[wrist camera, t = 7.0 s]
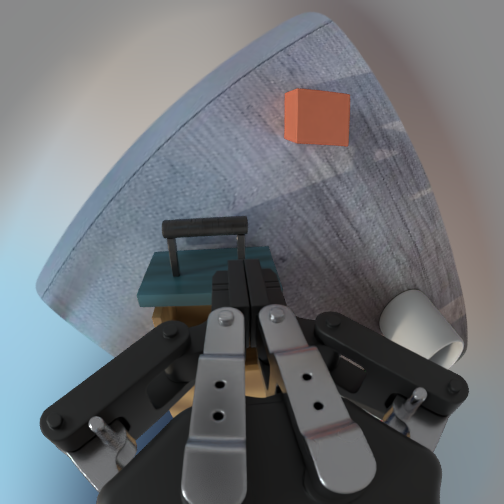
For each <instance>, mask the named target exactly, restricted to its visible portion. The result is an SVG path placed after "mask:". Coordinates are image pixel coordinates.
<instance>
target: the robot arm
mask: <svg viewBox="0 0 504 504" xmlns="http://www.w3.org/2000/svg"><path fill="white" fill-rule="evenodd" d="M249 337H250V345H251V348H252V347H257V363H258V367H259V371H260V374H261V378H262V382H263V386H264V390H265V394H266V397H265V398H259V397H251V396H245V359H246V348H249ZM341 355H343V356H345V357H347V358H348V359H350V360H352V361H353V362H355V363H357V364H359V365H360V366H362V367H363V368H364V369H365V371H366V372H365V371H364V370H362V369H360V368H358V367H357V366H355V365H353V364H351V363H350V362H348V361H346V360H345V359H343V358H341ZM194 385H195V389H194V397H193V404H192V406H191V407H189V408H187V409H185V410H183V411H182V412H180V413H179V414H178V415H176V416H175V417H174V418H173V419H172V420H171V421H170V422H169V423H168V424H167V425H166V426H165V427H164V428H163V429H162V430H161V431H160V432H159V433H158V434H157V435H156V436H155V437H154V438H153V439H152V440H151V441H150V442H149V443H148V444H147V445H146V446H145V447H144V448H143V449H142V450H141V451H140V452H139V453H138V454H137V455H136V456H135V454H136V451H137V444H136V441H135V440H137V439H138V438H139V437H140V436H141V435H142V434H143V433H144V432H145V431H147V430H148V429H149V428H150V427H151V426H152V425H153V424H154V423H155V422H156V421H158V420H159V419H160V418H161V417H162V416H163V415H164V414H165V413H166V412H167V411H168V410H169V409H170V408H172V407H173V406H174V405H175V404H176V403H177V402H178V401H179V400H180V399H181V398H182V397H183V396H184V395H185V394H186V393H187V392H188V391H189V390H190V389H191V388H192V387H193V386H194ZM468 393H469V388H468V385H467V383H466V381H465V380H464V379H463V378H462V377H461V376H460V375H458V374H456V373H454V372H452V371H450V370H448V369H446V368H444V367H442V366H440V365H438V364H436V363H434V362H432V361H430V360H428V359H426V358H424V357H422V356H421V355H419V354H417V353H415V352H413V351H411V350H409V349H407V348H405V347H403V346H401V345H399V344H397V343H395V342H393V341H392V340H390V339H388V338H386V337H384V336H382V335H380V334H378V333H376V332H374V331H372V330H370V329H369V328H367V327H365V326H363V325H361V324H359V323H357V322H355V321H353V320H351V319H350V318H348V317H346V316H344V315H342V314H340V313H337V312H324V313H321V314H320V315H318V316H317V318H316V320H309V319H303V318H299V317H297V316H295V314H294V312H293V311H292V310H291V309H290V308H288V307H287V305H286V302H285V299H284V296H283V293H282V289H281V287H280V283H279V280H278V277H277V274H276V273H275V272H274V271H273V270H272V269H271V268H265V269H261V265H260V261H259V259H244V261H243V259H238V260H228V270H221V271H216V273H215V274H214V275H213V277H212V302H211V313H210V314H209V316H208V319H207V320H206V321H205V322H204V323H202V324H200V325H197V326H193V327H190V328H188V326H187V325H186V324H185V323H183V322H181V321H176V320H171V321H166V322H163V323H161V324H159V325H158V326H157V327H155V328H154V329H153V330H151V331H150V332H149V333H147V334H146V335H145V336H143V337H142V338H141V339H139V340H138V341H137V342H135V343H134V344H133V345H131V346H130V347H129V348H127V349H126V350H125V351H123V352H122V353H121V354H119V355H118V356H117V357H115V358H114V359H113V360H111V361H110V362H109V363H107V364H106V365H105V366H103V367H102V368H101V369H99V370H98V371H97V372H95V373H94V374H93V375H91V376H90V377H89V378H87V379H86V380H85V381H83V382H82V383H81V384H79V385H78V386H77V387H75V388H74V389H73V390H71V391H70V392H69V393H67V394H66V395H65V396H63V397H62V398H60V399H59V400H58V401H56V402H55V403H54V404H53V405H51V406H50V407H48V408H47V409H46V410H45V411H44V412H43V414H42V416H41V418H40V429H41V431H42V433H43V435H44V436H45V437H46V438H48V439H49V440H50V441H51V442H52V443H53V444H55V445H56V447H57V448H58V449H60V450H61V451H62V452H63V453H65V454H66V455H67V456H68V457H69V458H70V459H71V460H72V461H73V463H74V464H75V465H76V467H77V468H78V469H79V470H80V472H81V473H82V474H83V475H84V476H85V478H86V479H87V480H88V481H89V482H90V483H91V484H92V486H93V487H94V488H95V489H96V490H97V491H98V492H99V495H98V497H97V502H96V504H440V487H441V479H442V469H441V465H440V462H439V460H438V459H437V457H436V455H435V454H434V453H433V452H434V450H435V448H436V446H437V444H438V442H439V439H440V437H441V435H442V433H443V430H444V428H445V425H446V423H447V420H448V418H449V417H450V416H451V414H453V412H454V411H455V410H456V409H457V408H458V407H459V406H460V405H461V404H462V403H463V402H464V400H465V399H466V398H467V396H468ZM340 395H341V396H342V397H341V396H340ZM363 409H364V410H363ZM366 411H367V412H366ZM368 412H369V413H368ZM370 413H371V414H372V415H371V414H370ZM373 415H374V416H376V417H377V418H376V417H374V416H373ZM378 418H379V419H381V420H383V422H382V421H381V420H379V419H378ZM134 456H135V457H134ZM133 457H134V458H133Z"/></svg>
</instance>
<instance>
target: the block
mask: <svg viewBox="0 0 504 504" xmlns="http://www.w3.org/2000/svg"><path fill="white" fill-rule="evenodd" d="M349 121H350V95H349V94H343V93H336V92H329V91H320V90H310V89H295V90H292V91H289V92H287V93H285V133H284V138H285V139H286V140H289V141H292V142H295V143H299V144H320V145H336V146H348V143H349Z"/></svg>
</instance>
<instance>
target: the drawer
mask: <svg viewBox="0 0 504 504" xmlns="http://www.w3.org/2000/svg"><path fill="white" fill-rule="evenodd" d="M247 233H248V222H247V216H231V217H211V218H193V219H177V220H164V221H163V222H162V234H163V237H164V238H167V244H168V250H169V251H165V252H154V255H153V257H152V259H151V262H150V264H149V266H148V269H147V271H146V273H145V276H144V278H143V281H142V283H141V286H140V288H139V291H138V293H137V298H138V302H139V305H140V307H155V309H154V312H153V316H152V320H153V323H154V326H155V327H157V326H158V325H159V324H161V323H163V322H166V321H171V320H176V321H181V322H183V323H185V324H186V325H187V326H188V328H190V327H193V326H197V325H200V324H202V323H204V322H205V321H206V320H207V319H208V316H209V314H210V313H211V302H212V277H213V275H214V274H215V273H216V271H221V270H228V260H238V259H243V261H244V259H259V261H260V265H261V269H265V268H271V269H272V270H273V271H274V272H275V273H276V274H277V277H278V280H279V283H280V287H281V289H282V291H283V288H282V285H281V282H280V279H279V276H278V273H277V270H276V267H275V264H274V261H273V258H272V255H271V252H270V249H269V246H264V247H245V234H247ZM217 235H237V248H223V249H204V250H184V251H177V247H176V239H175V238H180V237H198V236H217ZM254 364H258V363H257V347H252V348H251V345H250V337H249V348H246V359H245V365H254Z"/></svg>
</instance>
